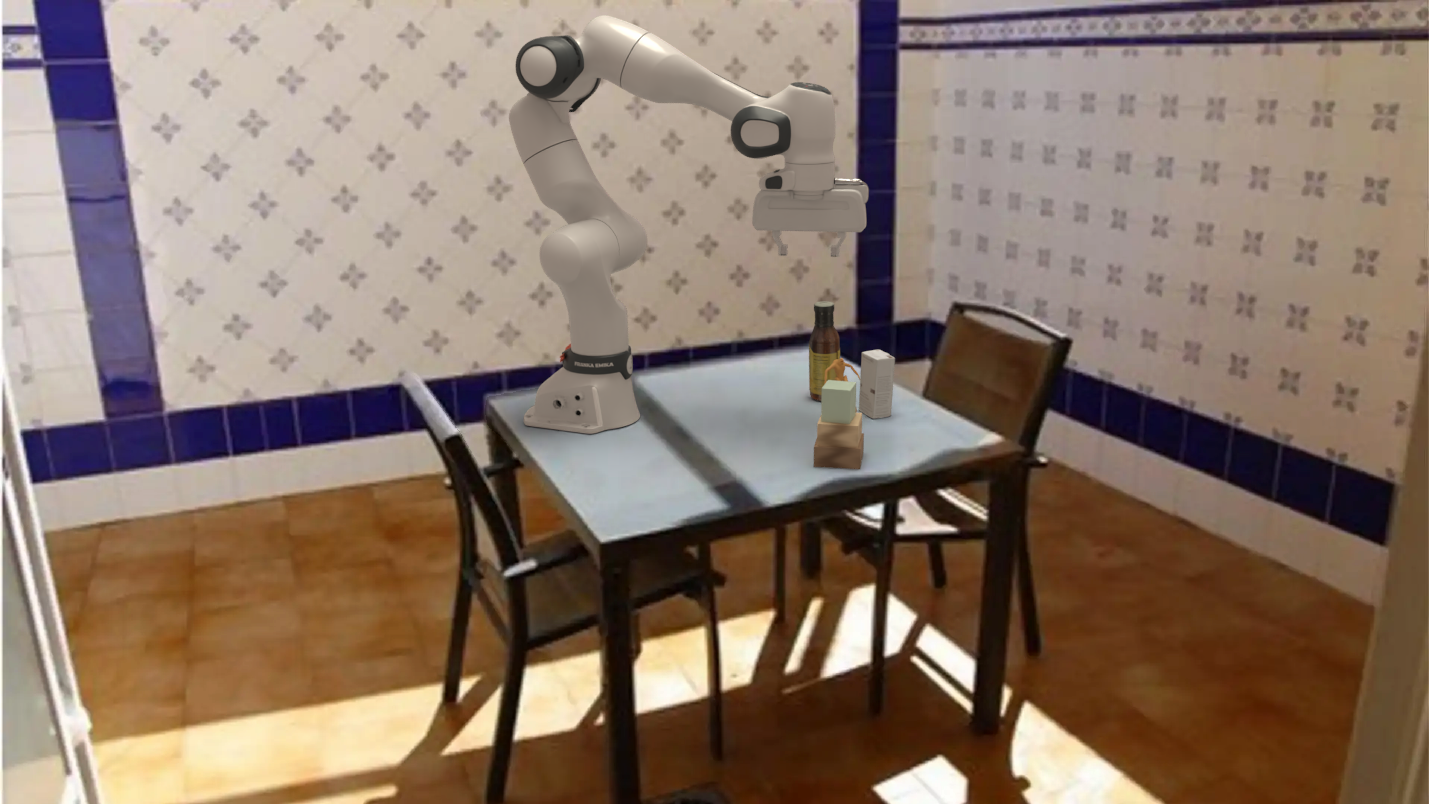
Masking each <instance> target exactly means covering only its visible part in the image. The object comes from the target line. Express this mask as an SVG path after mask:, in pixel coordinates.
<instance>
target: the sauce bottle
mask: <svg viewBox="0 0 1429 804" xmlns="http://www.w3.org/2000/svg"><path fill="white" fill-rule="evenodd" d="M813 311H814V327H813V329H812V332H811V334H810V338H809V341H808V367H809V369H808V370H809V371H808V375H809V376H808V378H809V379H808V381H809V387H808V388H809V389H808V390H809V396H810V398H811V399H813V400H815V401H818V402H819V401H820V402H821V398H822V387H823V386H824V381H825V379H824V378H825V370H826V369H827V368H828V367H830V366H831V364H832V363H833V361H834V360H836V359H840V358H841V347H840V335H839V333H838V330H837V329H836V327H835V325H834V324H835V321H834V317H835V316H834V312H835V303H834V302H833V301H828V300H827V301H826V300H825V301H816V302H815V303H814V304H813ZM836 377H837V374H836V373H835V371H834V369H831V370H830V371H828V372H827V381H828V380H835V378H836ZM827 381H826V382H827Z"/></svg>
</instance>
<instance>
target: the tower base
mask: <svg viewBox="0 0 1429 804" xmlns="http://www.w3.org/2000/svg"><path fill="white" fill-rule="evenodd" d="M864 439H865V433H864V432H862V435H861V439H860V442H859V445H858V448H848V447H831V446H817V438H815V442H814V445H813V468H828V469H829V468H830V469H848V470H861V466H862V461H863V457H864V443H865V442H864V441H865V440H864Z"/></svg>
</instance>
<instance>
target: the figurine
mask: <svg viewBox="0 0 1429 804" xmlns="http://www.w3.org/2000/svg"><path fill="white" fill-rule="evenodd" d="M846 368H850V369H851V370H852V371H853V373H854V374H855V375H856V376H857V377H858V380H859V381H860V375H859V374H858V372H857V370H856V369H855V368H854V366H853V365H852V364H850V363H847V362H846V361H845V360H844V358H843V357H840V359H836V360H834V361H833V363H832V364H831V366H830V367H828V368H827V369H826V370H825V378H824V379H825V381H824V385H825V383H826V381H827V372H828V371H830V370H831V369H834V371H835V373H836V374H837V377H836V378H835V380H836V381H848V382H849V380H848V376H847V375H845V374H844V373H845V370H846ZM856 413H858V410H857V407H856Z"/></svg>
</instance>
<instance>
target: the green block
mask: <svg viewBox="0 0 1429 804" xmlns="http://www.w3.org/2000/svg"><path fill="white" fill-rule="evenodd" d="M820 403H821V404H820V405H821V408H820V409H821V412H820V416H821V421H822V422H833V423H844V424H850V423H851V421H852V420H853V418H854V417H855V415H856V413H857V412H856V408H857V382H856V381H849V380H848V381H836V380H828V381H827V382H826V383H825V385H824V386H823V387H822V398H821V401H820Z"/></svg>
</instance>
